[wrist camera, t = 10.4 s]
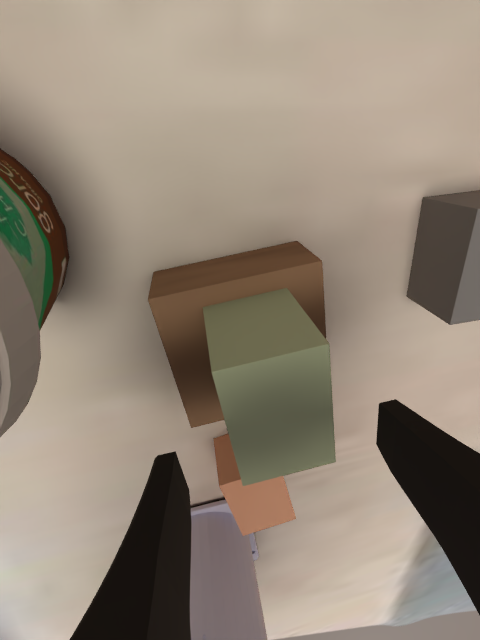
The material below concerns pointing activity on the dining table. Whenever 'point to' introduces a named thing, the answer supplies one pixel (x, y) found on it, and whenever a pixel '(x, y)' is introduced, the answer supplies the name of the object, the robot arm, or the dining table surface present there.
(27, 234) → the food container
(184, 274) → the walnut block
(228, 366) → the sage brick
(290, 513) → the terracotta brick
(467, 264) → the charcoal brick
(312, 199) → the dining table surface
